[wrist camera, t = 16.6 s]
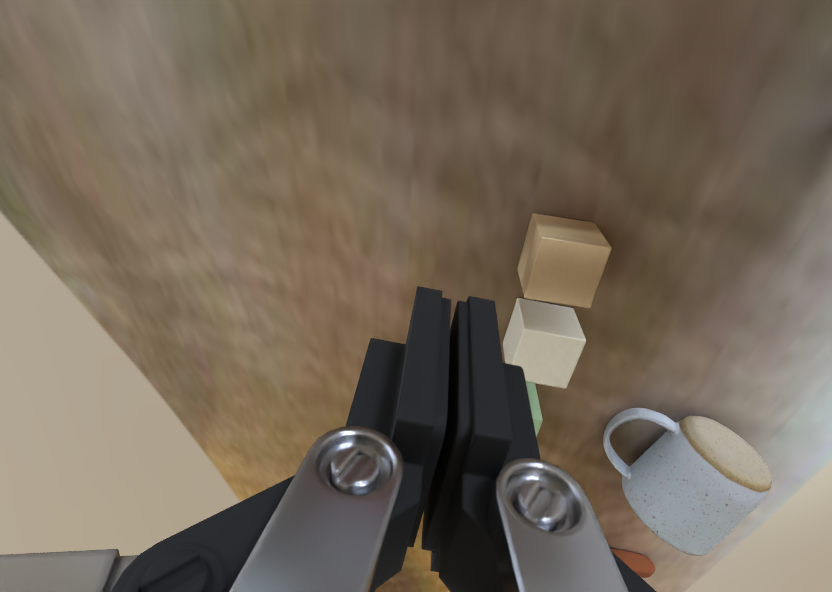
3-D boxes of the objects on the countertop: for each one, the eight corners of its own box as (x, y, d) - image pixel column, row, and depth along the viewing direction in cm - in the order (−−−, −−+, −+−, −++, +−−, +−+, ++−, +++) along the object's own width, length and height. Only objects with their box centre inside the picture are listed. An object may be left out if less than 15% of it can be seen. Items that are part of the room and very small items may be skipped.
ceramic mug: (748, 426, 39) (807, 508, 32) (684, 487, 43) (724, 572, 36) (634, 381, 38) (669, 456, 31) (578, 447, 42) (600, 527, 35)
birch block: (531, 212, 32) (541, 237, 28) (594, 222, 32) (612, 247, 28) (517, 269, 34) (524, 298, 30) (576, 278, 34) (590, 308, 30)
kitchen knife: (652, 554, 48) (659, 574, 46) (645, 562, 49) (652, 582, 47) (501, 519, 47) (503, 538, 45) (496, 527, 48) (498, 546, 46)
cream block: (517, 297, 35) (523, 328, 31) (573, 307, 35) (587, 340, 31) (502, 343, 37) (506, 378, 33) (555, 353, 37) (566, 389, 33)
